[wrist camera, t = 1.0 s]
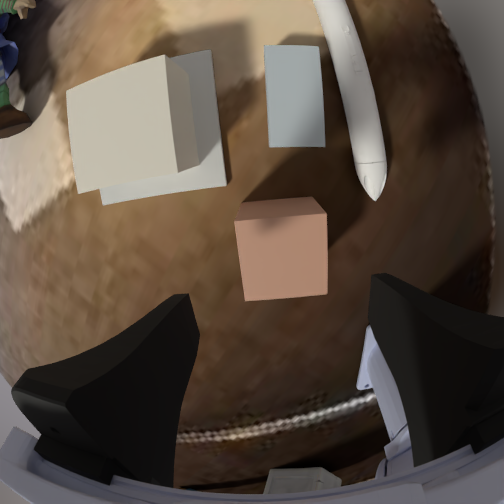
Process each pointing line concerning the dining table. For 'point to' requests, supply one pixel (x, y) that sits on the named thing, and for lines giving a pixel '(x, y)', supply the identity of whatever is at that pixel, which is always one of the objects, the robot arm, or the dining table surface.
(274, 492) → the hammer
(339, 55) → the marker
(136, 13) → the dining table surface
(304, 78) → the brick
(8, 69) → the toy
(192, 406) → the dining table surface
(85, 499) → the robot arm
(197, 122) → the plate
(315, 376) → the dining table surface
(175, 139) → the base block
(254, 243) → the top block
